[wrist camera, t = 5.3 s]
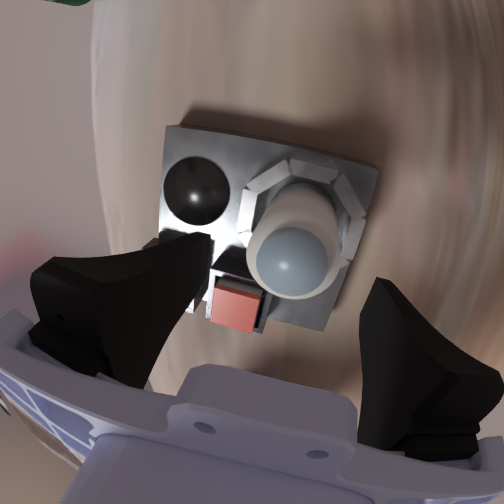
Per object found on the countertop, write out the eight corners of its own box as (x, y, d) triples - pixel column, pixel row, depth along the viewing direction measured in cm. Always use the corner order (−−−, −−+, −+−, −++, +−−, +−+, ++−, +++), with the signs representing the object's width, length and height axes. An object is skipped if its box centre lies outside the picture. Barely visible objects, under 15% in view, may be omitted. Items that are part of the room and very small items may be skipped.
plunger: (258, 312, 22) (251, 333, 20) (221, 301, 23) (210, 321, 21) (266, 279, 21) (259, 300, 19) (225, 269, 21) (214, 287, 19)
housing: (323, 316, 24) (322, 349, 21) (164, 272, 26) (143, 297, 23) (374, 164, 18) (386, 176, 15) (174, 123, 20) (145, 128, 16)
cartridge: (325, 254, 20) (324, 315, 14) (262, 238, 20) (236, 292, 14) (343, 193, 18) (354, 234, 12) (275, 175, 18) (251, 208, 12)
